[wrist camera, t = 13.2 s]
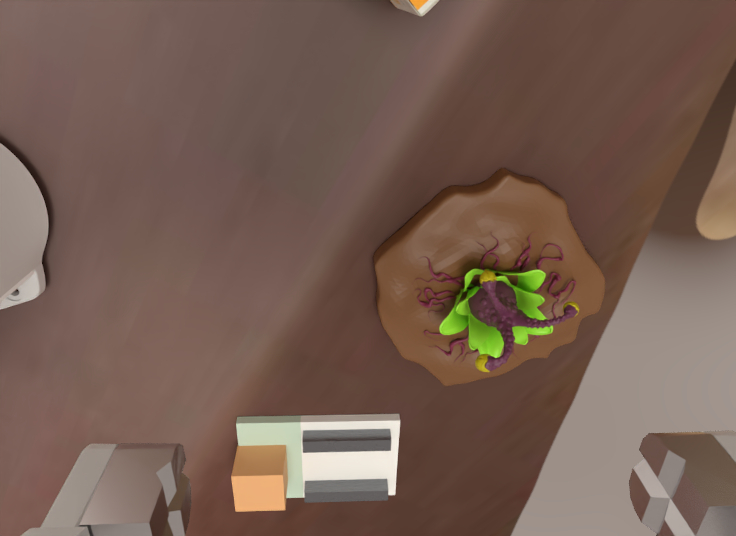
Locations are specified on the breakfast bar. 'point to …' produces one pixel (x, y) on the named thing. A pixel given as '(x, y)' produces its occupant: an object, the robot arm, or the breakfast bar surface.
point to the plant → (485, 279)
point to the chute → (331, 453)
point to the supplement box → (415, 6)
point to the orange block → (260, 478)
